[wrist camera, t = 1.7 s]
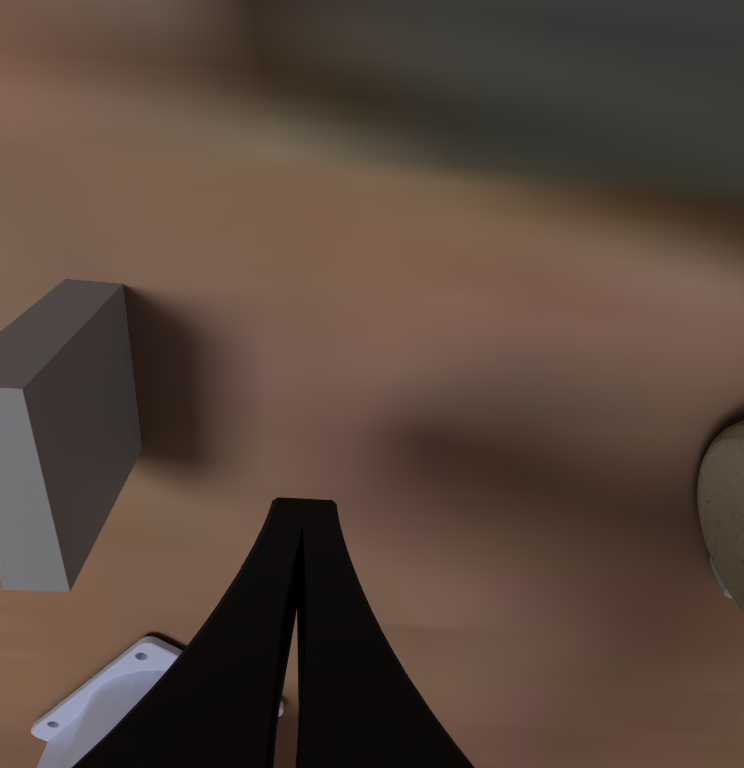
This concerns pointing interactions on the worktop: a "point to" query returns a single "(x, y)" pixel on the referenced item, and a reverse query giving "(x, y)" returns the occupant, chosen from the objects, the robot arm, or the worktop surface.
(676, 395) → the worktop surface
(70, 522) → the tile
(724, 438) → the ceramic mug
